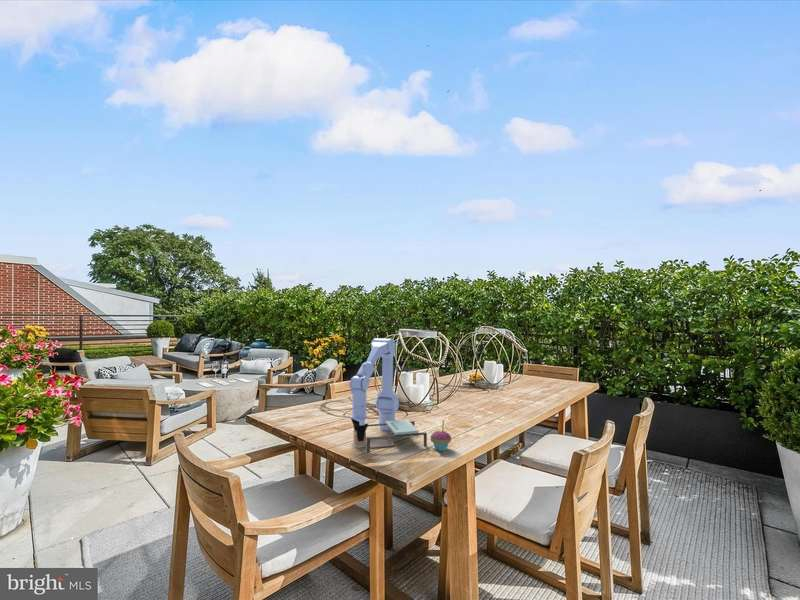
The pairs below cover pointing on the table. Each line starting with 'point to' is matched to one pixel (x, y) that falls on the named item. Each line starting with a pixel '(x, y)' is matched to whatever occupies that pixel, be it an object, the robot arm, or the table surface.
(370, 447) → the puzzle board
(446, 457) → the table surface
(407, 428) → the slide cover
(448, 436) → the cupcake
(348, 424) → the table surface
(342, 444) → the table surface
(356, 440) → the block
